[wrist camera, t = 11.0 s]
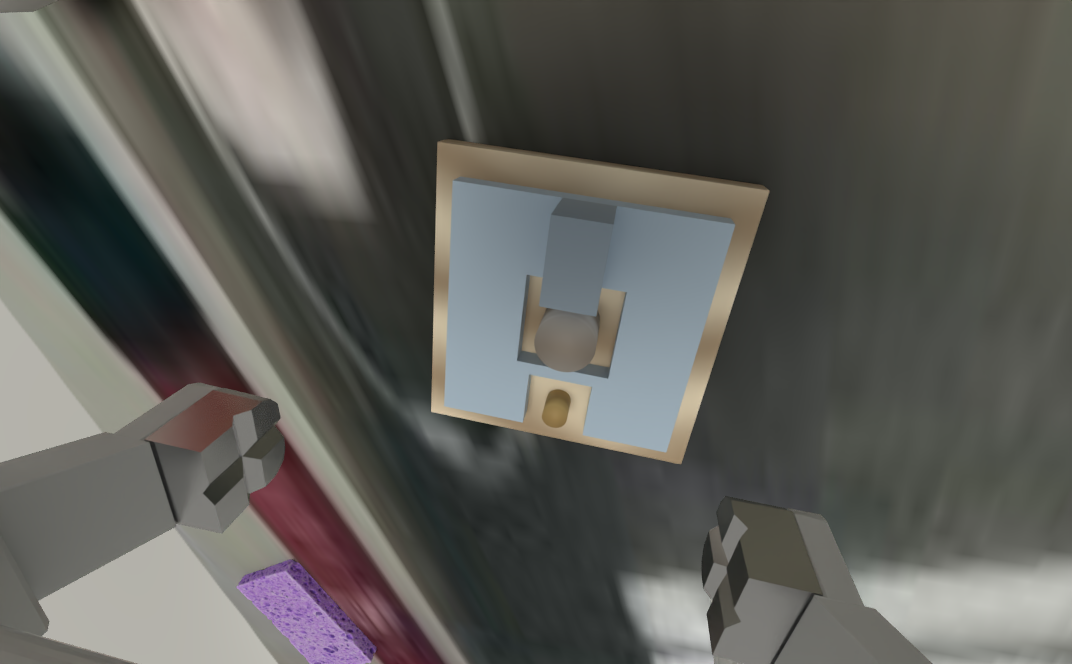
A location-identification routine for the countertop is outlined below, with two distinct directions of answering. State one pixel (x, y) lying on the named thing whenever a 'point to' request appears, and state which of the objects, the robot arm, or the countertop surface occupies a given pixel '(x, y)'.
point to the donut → (23, 5)
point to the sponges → (306, 615)
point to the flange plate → (645, 325)
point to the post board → (590, 338)
